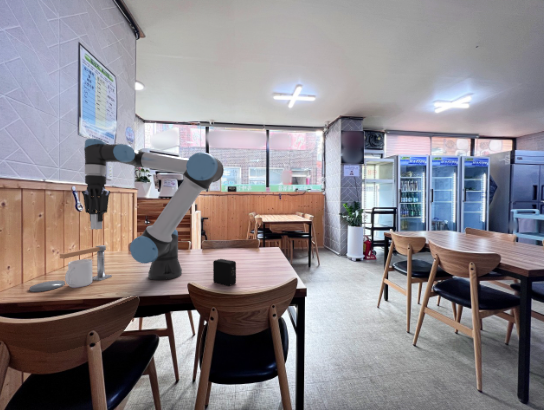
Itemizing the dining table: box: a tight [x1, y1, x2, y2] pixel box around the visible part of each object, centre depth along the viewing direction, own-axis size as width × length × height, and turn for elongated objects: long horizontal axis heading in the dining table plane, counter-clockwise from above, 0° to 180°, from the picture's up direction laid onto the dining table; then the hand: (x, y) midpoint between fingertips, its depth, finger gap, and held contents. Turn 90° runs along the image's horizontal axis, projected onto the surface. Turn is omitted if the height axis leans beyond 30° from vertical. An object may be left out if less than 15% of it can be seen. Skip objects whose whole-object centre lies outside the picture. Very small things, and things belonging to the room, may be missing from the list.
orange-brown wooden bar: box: [59, 245, 107, 260], centre depth 107 cm, size 4×19×2 cm, turn 166°
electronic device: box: [212, 258, 237, 287], centre depth 108 cm, size 4×10×10 cm, turn 58°
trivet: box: [29, 280, 66, 293], centre depth 103 cm, size 11×11×1 cm
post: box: [92, 250, 113, 281], centre depth 115 cm, size 6×6×13 cm
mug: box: [64, 258, 93, 289], centre depth 104 cm, size 12×8×10 cm
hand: (96, 228), depth 106 cm, fingers open, 2 cm apart
